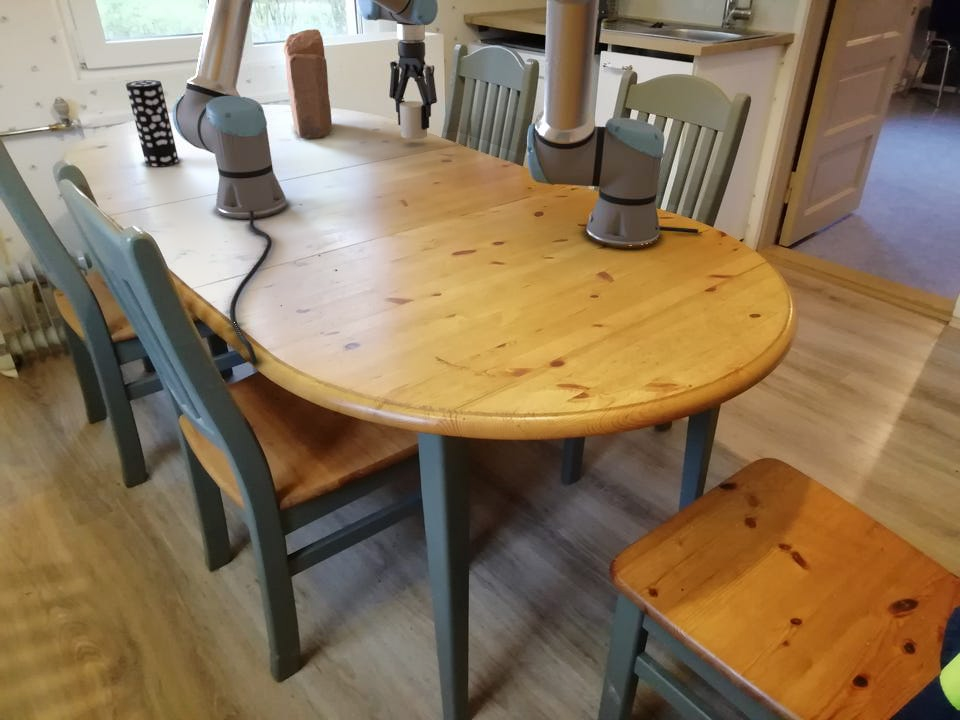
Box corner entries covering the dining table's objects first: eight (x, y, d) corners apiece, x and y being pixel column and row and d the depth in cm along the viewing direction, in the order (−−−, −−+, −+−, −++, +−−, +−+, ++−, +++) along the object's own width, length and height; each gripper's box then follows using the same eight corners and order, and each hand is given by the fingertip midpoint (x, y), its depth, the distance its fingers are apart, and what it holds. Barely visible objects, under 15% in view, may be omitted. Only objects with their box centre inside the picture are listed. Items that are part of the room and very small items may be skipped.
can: (430, 133, 205) (429, 102, 200) (422, 140, 198) (421, 107, 194) (405, 131, 206) (404, 100, 201) (397, 137, 200) (395, 105, 195)
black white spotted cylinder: (184, 157, 190) (167, 80, 179) (169, 166, 183) (151, 87, 172) (155, 156, 190) (136, 79, 179) (139, 165, 183) (119, 86, 172)
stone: (337, 137, 208) (326, 34, 194) (299, 140, 205) (285, 36, 191) (327, 123, 225) (317, 28, 211) (292, 125, 222) (279, 29, 208)
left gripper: (450, 43, 187) (450, 129, 199) (390, 36, 196) (393, 119, 208) (434, 46, 182) (435, 134, 194) (373, 38, 191) (377, 123, 203)
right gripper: (543, -62, 155) (537, 41, 166) (600, -58, 135) (590, 58, 147) (572, -62, 157) (565, 40, 169) (633, -58, 138) (620, 56, 149)
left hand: (413, 126), depth 201 cm, fingers closed on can, 8 cm apart
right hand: (576, 49), depth 158 cm, fingers open, 13 cm apart
